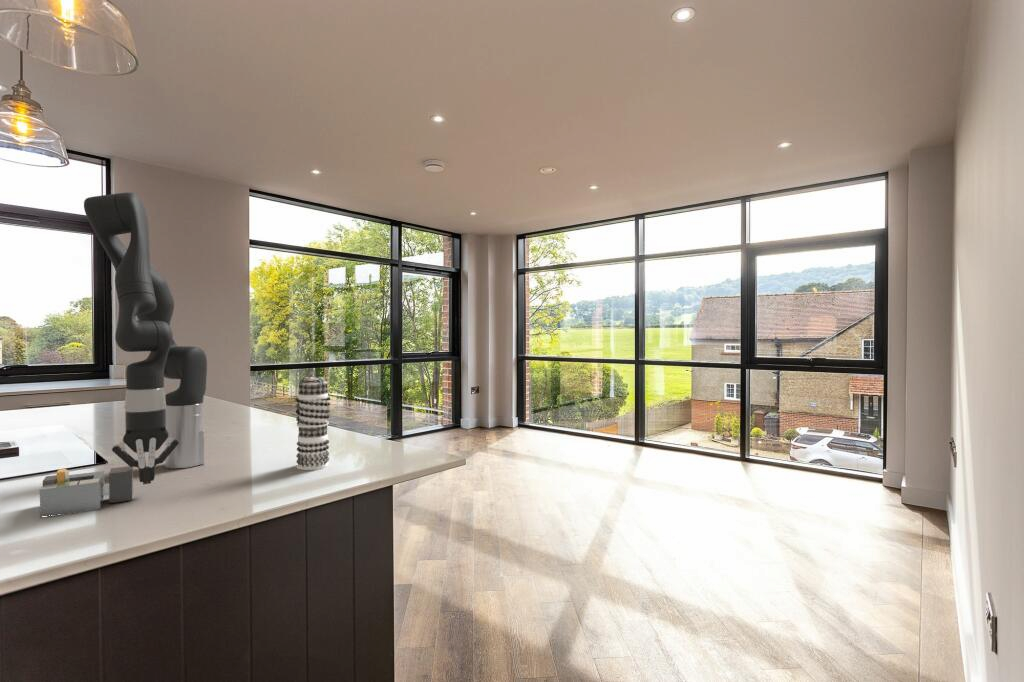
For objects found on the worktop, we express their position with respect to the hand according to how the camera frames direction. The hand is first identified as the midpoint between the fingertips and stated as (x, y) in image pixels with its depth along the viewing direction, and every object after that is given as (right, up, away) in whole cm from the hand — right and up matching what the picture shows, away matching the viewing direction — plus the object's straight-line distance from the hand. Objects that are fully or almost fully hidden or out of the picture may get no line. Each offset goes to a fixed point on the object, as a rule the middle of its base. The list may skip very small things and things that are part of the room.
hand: (146, 483), depth 117 cm
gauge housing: (-11, -3, -7) cm, 13 cm away
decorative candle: (+28, -3, +27) cm, 39 cm away
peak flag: (-12, -2, -8) cm, 15 cm away
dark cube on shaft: (-7, -3, -4) cm, 9 cm away
